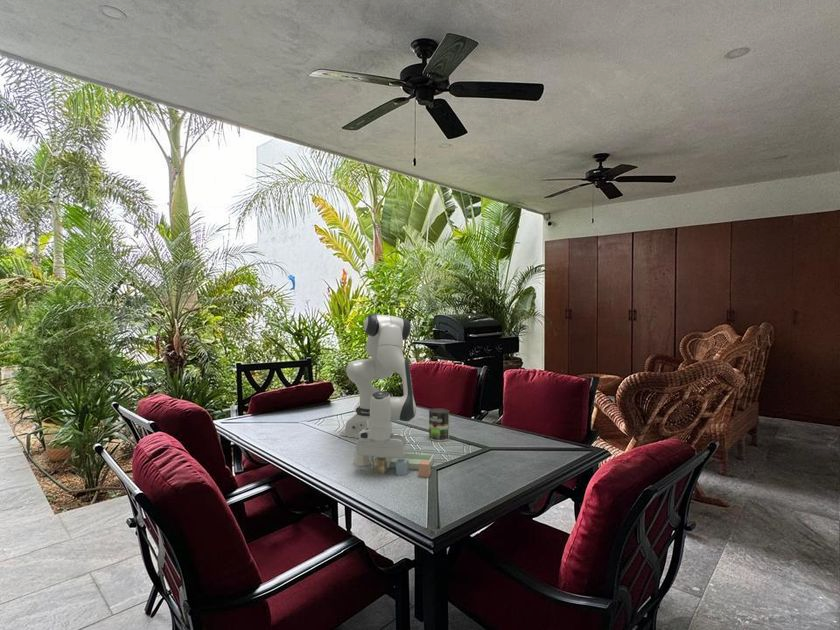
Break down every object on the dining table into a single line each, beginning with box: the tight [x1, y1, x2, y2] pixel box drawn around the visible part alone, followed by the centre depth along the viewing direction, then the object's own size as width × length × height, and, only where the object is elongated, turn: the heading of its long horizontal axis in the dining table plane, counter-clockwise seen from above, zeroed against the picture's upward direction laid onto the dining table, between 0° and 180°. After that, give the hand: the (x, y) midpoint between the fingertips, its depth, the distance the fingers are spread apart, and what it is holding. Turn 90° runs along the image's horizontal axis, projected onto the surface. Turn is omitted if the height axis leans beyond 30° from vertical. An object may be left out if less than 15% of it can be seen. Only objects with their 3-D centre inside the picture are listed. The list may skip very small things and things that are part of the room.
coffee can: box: [428, 407, 450, 442], centre depth 219 cm, size 10×10×14 cm
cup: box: [353, 450, 371, 467], centre depth 184 cm, size 7×7×5 cm
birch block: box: [373, 457, 388, 474], centre depth 175 cm, size 4×4×5 cm
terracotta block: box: [418, 460, 432, 478], centre depth 172 cm, size 4×4×5 cm
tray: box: [383, 452, 435, 471], centre depth 183 cm, size 20×12×3 cm, turn 78°
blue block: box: [395, 459, 410, 476], centre depth 174 cm, size 4×4×5 cm
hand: (380, 467), depth 175 cm, fingers open, 4 cm apart
